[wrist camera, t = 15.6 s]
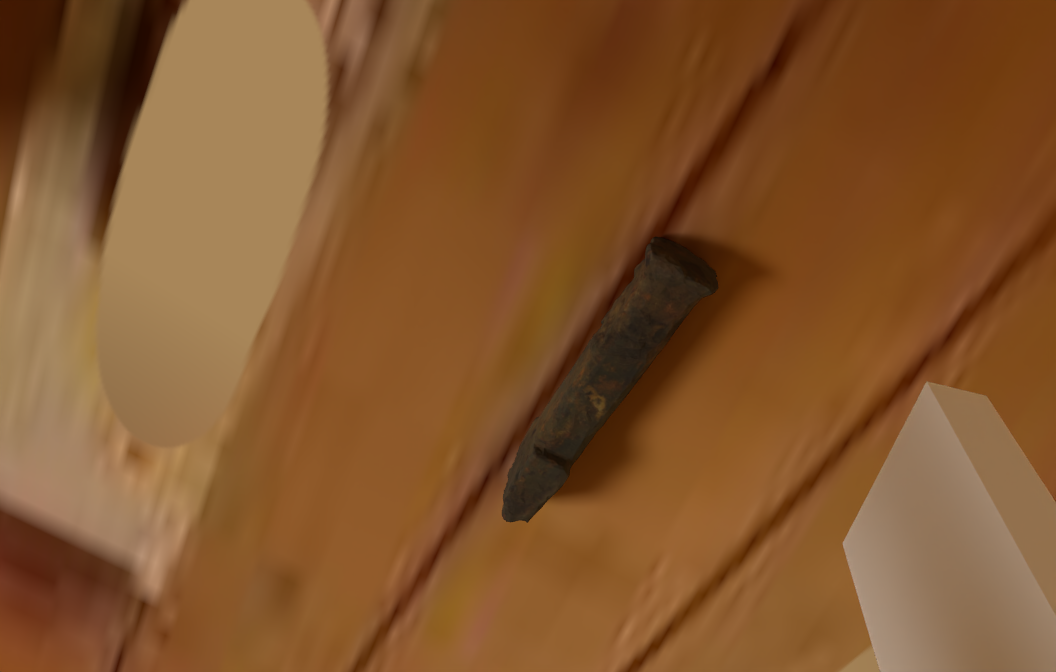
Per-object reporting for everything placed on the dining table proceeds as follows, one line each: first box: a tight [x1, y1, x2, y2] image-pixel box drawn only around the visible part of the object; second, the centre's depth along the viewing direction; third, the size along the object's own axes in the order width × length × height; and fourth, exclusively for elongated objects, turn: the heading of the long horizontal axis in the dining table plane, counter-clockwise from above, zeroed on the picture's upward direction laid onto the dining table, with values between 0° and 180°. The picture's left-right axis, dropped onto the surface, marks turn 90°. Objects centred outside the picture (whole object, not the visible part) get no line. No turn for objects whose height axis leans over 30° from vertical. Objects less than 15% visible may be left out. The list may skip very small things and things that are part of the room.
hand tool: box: [502, 237, 718, 523], centre depth 46 cm, size 19×4×5 cm, turn 149°
